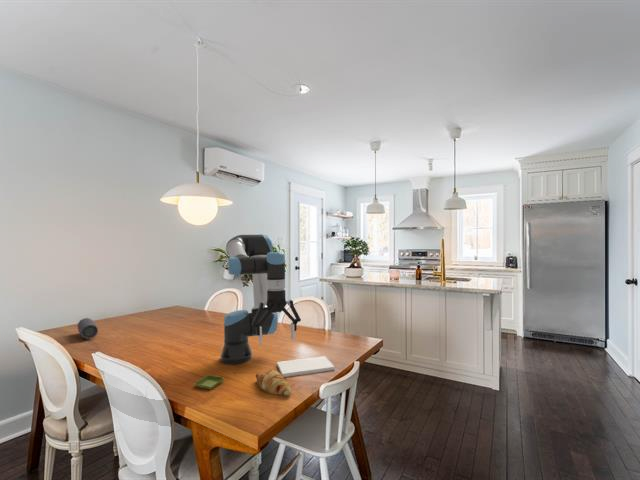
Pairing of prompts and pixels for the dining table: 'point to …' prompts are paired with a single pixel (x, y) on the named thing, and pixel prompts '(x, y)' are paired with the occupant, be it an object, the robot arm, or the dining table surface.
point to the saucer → (209, 382)
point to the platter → (304, 366)
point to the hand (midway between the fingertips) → (276, 341)
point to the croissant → (273, 383)
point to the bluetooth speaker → (87, 328)
